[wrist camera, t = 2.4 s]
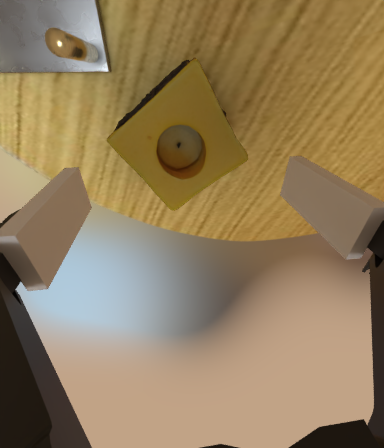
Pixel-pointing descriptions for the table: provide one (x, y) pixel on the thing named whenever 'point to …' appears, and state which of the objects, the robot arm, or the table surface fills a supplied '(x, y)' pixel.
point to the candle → (179, 137)
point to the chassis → (52, 36)
